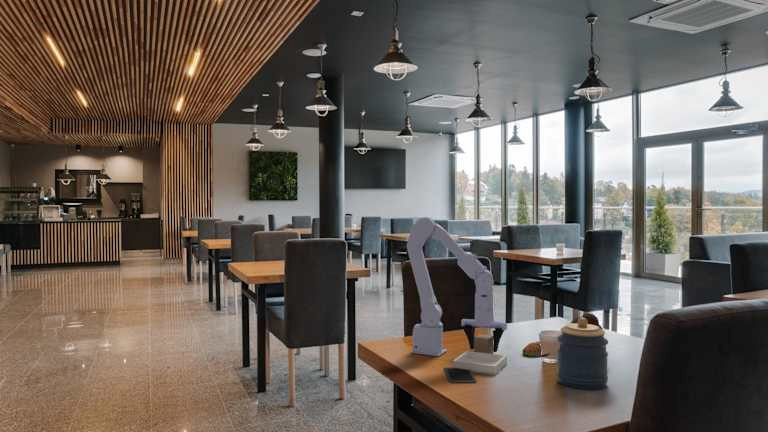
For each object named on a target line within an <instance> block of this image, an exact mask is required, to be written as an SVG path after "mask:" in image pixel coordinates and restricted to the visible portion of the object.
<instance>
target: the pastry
mask: <svg viewBox="0 0 768 432" xmlns="http://www.w3.org/2000/svg"><path fill="white" fill-rule="evenodd" d="M522 355H526V356H529V357H532V358H533V357H542V356H541V346H540V341H535V342H531V343H527V345H526V346H524V348H523V349H522Z"/></svg>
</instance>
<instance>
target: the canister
mask: <svg viewBox="0 0 768 432" xmlns="http://www.w3.org/2000/svg"><path fill="white" fill-rule="evenodd" d="M602 329H603V328H602ZM602 329H600V328H599V327H598V326H595V325H591V324H588V321H587V320H586V319H585V318H579V319H578V322H577V323H571V322H570V323H568V324H566V325H565V326H563V327H561V328H560V332H561V334H559V335H557V336H556V338H557V339H556V340H558V341H559V342H558V343H559V344H558V347H557V350H556V351H557V370H556V376H557V381H558V382H559V383H560V384H562V385H564V386H565V387H568V388H572V389H579V390H587V391H588V390H592V391H593V390H594V391H595V390H602V389H604V388H606V387H607V384H608V381H609V375H608V356H609V352H608V351H607V345H608V344H609V340H608V339H607V338H605V334H606V332H604V331H605V330H604V329H603V330H602ZM603 335H604V336H603Z"/></svg>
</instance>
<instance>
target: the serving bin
mask: <svg viewBox="0 0 768 432" xmlns="http://www.w3.org/2000/svg"><path fill="white" fill-rule="evenodd" d="M507 364H508V356H507V355H504V354H495V353H493V354H488V353H481V352H474V350H473V351H471V350H466V351H465V352H463V353H462V354H461V355H459V356H457V357H456V358H455V359H453V360H452V367H453V368H458V369H465V370H470V371H471V373H478V374H485V375H491V376H492V375H493V376H496V375H497V374H498V373H499V372H500V371H501V370H502V369H504V368H505V367H506V366H507Z"/></svg>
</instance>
